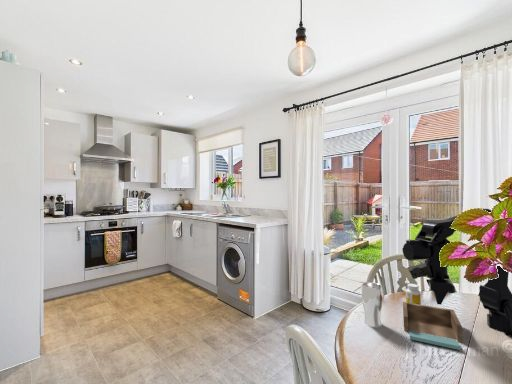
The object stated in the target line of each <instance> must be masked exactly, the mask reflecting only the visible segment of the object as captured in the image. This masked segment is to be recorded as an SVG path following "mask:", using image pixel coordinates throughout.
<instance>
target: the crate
mask: <svg viewBox="0 0 512 384" xmlns="http://www.w3.org/2000/svg"><path fill="white" fill-rule="evenodd" d="M402 316H403V331H404V332H409V330H410V331H415V332H420V333H424V334H429V335H434V336H439V337H444V338H449V339H454V340H456V341H457V342H458V343H463V342H464V341H463V327H462V324H461V322H460V320H459V318H458V316H457V314H456V311H455V309H449V308H443V307H437V306H432V305H431V306H430V305H426V304H425V305H424V304H421V305H419V304H413V303H406V301H403V302H402Z"/></svg>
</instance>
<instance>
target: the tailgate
mask: <svg viewBox="0 0 512 384" xmlns="http://www.w3.org/2000/svg"><path fill="white" fill-rule="evenodd" d="M408 333H409V340H412V341H417V342H421V343H426V344H429V345H436V346H438V347H439V346H440V347H443V348H449V349H454V350H458V351H461V349H462V348H461V345H460V344H459V342H458V341H457V340H455V339H450V338H445V337H440V336H436V335H431V334H426V333H421V332H416V331H411V330H408Z"/></svg>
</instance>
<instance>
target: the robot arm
mask: <svg viewBox="0 0 512 384" xmlns="http://www.w3.org/2000/svg"><path fill="white" fill-rule="evenodd" d="M476 209H483V210H486V211H488V212H491V210H492V209H490V208H478V207H477V208H476ZM458 215H459V214H458ZM458 215H455V216H452V217H449V218H445V219H431V220H427V221H424V222H423V223H422V224H421V225H422V226H421V228H420V229H419V231H418V233H417V235H416V236H415V237H414V239H406V240H405V243H404V244H403V246H402V254H403V256H404V258H405V259H406V260H407V261H419V260H424V263H419V264H415V265H410V266H408V267H407V269H408V272H409V274H410V276H411V278H412V280H415V279H418V278H422V277H427V279H425V280H426V283H427V285H428V287H429V289H430V291H432V292H433V295H434V297H435V300H436V304H437V305H442V303H443V301H444V300H445V298H446V296H447V294H448V293H449V294H455V293H456V289H455V288H456V287H455V286H454V284H453V283H452V281H450V275H449V274H448V267H449V265H448V266H446V267H440V261H439V252H440V250H441V248H442V247H443V246H444V245H446V244H447V243H450V242H451V241H450V240H449V239H448V238H449V237H451V236H453V235H454V233H455V232H456V230H454V229H451V228H449V227H450V226H451V224H452V222H453V221H454V219H455V218H456V217H457V216H458ZM446 246H447V245H446ZM497 269H498V274H499V278H497V279H493V280H489V279H488V278H487V282H486V283H485V284H484V285H482V284H480V285H479V290H478V291H479V292H478V295H477V296H478V297H479V300H480V302H481V303H482V306H483V309H485V310H488V313H487V314H486V324H487V326H488V328H490V329H493V330H496V331H498V332H502V333H504V335H505V336H507V337H512V291H511V289H510V288H509V285H508V284H509V274H510V272H506V271H504V270H503V269H502V268H501V267H500V266H497Z"/></svg>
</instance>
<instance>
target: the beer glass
mask: <svg viewBox="0 0 512 384" xmlns="http://www.w3.org/2000/svg"><path fill="white" fill-rule="evenodd" d="M361 285H362V286H361V299H362V301H361V302H362V307H363V311H364V321H363V323H364V325H366V326H368V327H370V328H376V329H377V328H381V327H382V325H383V324H382V319H381V317H382V316H381V315H382V308H383V302H384V299H383V289H382V287H383V286H382V284H379V283H377V282H373V281H372V282H371V281H369V282H368V281H367V282H362V284H361Z"/></svg>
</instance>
